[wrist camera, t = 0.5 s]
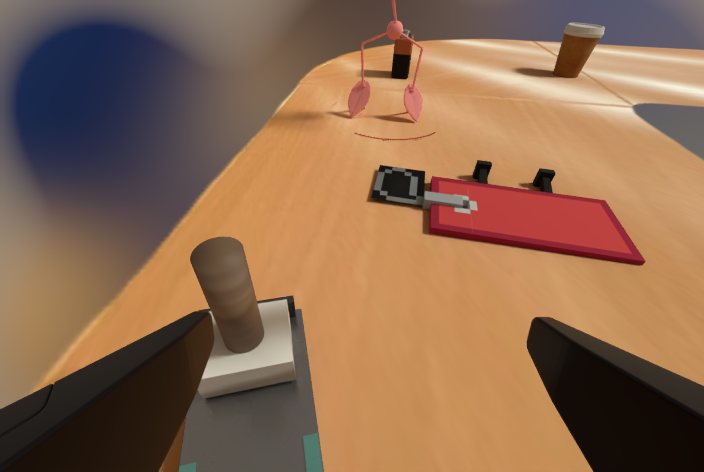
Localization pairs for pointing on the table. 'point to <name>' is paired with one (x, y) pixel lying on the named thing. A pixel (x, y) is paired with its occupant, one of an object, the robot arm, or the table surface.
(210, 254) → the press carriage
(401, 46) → the battery
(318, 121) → the table surface
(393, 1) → the figurine
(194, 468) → the rail
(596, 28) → the disposable coffee cup
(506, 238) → the red board with handle
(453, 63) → the table surface
